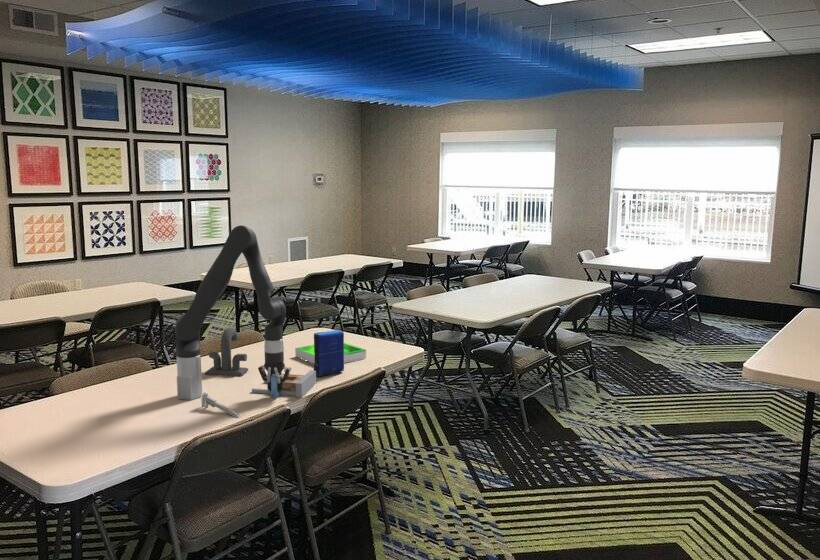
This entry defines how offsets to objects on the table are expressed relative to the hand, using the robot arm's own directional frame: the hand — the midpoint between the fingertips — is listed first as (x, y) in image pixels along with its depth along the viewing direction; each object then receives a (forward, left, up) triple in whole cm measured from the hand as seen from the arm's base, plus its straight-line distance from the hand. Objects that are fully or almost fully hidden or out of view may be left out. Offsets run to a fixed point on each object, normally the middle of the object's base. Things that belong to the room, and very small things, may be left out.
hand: (275, 390), depth 262 cm
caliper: (-20, +14, -3) cm, 25 cm away
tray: (+60, -5, -3) cm, 60 cm away
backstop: (+10, 0, -3) cm, 10 cm away
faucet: (+30, +34, -3) cm, 45 cm away
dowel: (0, 0, -3) cm, 3 cm away
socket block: (+10, -3, -3) cm, 11 cm away
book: (+34, -12, -3) cm, 36 cm away
